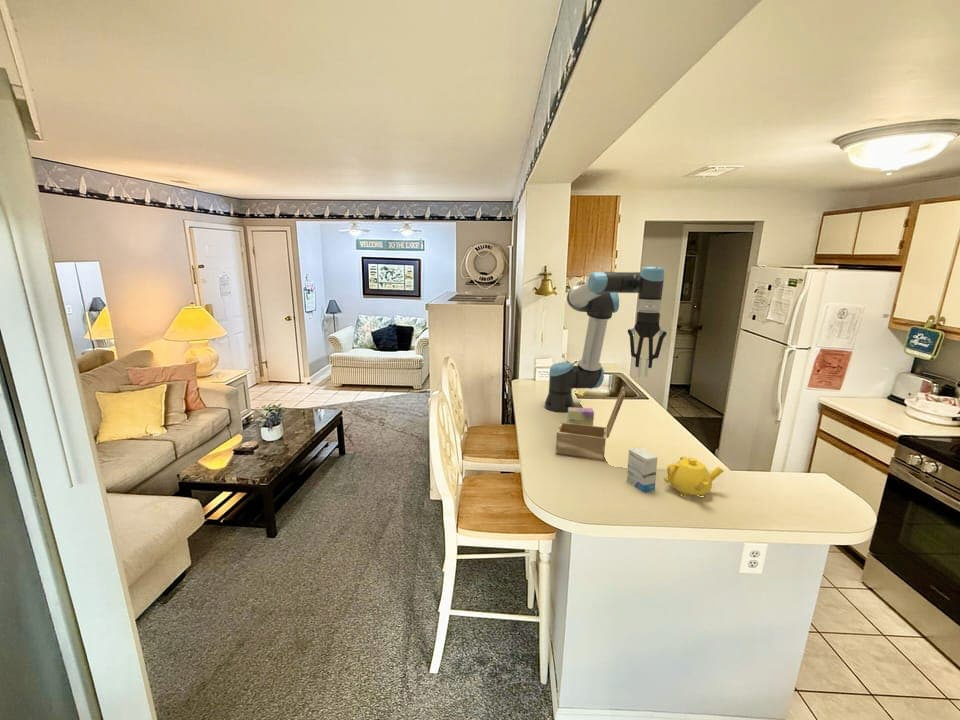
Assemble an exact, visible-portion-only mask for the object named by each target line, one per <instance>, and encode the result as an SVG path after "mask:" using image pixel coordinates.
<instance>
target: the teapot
mask: <svg viewBox="0 0 960 720" xmlns="http://www.w3.org/2000/svg"><path fill="white" fill-rule="evenodd" d="M666 472H667V475H666V476H665V477H664V478H663V480H664V483H666V484H670V485H671V486H672V487H673V488H674V489H675V490H676V491H679V495H680V496H681V495H682V496H681V497H683V496H686V497H688V495H691V496H697V495H699V496H705V494H707V493H709V492H710V491H711V490H712V488H713V483H712V482H713V481H714V480H716V478H718V477H719V476H720V475H721V474H723V473H724V470H723V469H722V468H721V467H720V466H717V467H716V468H715V469H713V470H712V471H711V472H709V470H708V468H707V467H706V465H705V464H704V463H702V462H701V461H700V460H697V459H696V458H693V457H689V458H688V457H687V456H681V457H680V459H679V461H677V462H675V463H674V462H673V463H670V464H668V465H667V468H666ZM699 496H698V497H699Z"/></svg>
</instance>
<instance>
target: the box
mask: <svg viewBox="0 0 960 720" xmlns="http://www.w3.org/2000/svg"><path fill="white" fill-rule="evenodd" d="M594 418H595V412H594V409H593V408H592V407H591V408H590V407H575V406H574V407H568V412H567V420H566V423H572V424H581V425H589V426H594Z"/></svg>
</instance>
